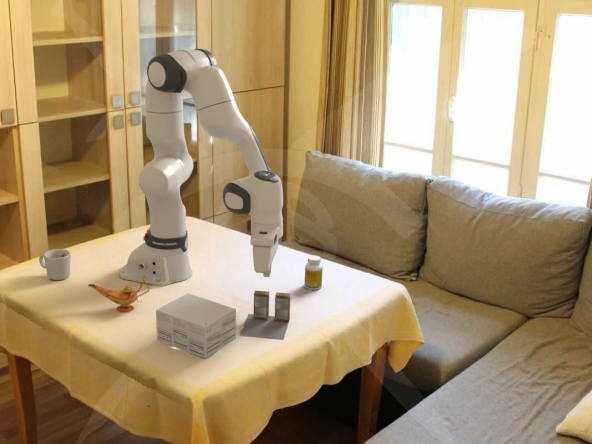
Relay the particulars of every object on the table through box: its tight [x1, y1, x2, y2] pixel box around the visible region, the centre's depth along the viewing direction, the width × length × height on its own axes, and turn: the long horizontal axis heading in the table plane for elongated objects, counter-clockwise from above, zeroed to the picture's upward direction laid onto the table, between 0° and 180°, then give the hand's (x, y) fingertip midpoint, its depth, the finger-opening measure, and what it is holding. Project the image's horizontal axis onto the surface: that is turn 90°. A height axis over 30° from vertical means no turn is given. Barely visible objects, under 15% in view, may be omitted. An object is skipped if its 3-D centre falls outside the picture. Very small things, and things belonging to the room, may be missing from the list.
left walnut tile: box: [253, 290, 270, 321], centre depth 211 cm, size 4×2×8 cm, turn 83°
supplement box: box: [155, 293, 237, 360], centre depth 199 cm, size 17×13×9 cm
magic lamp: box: [87, 275, 151, 314], centre depth 214 cm, size 7×18×11 cm, turn 85°
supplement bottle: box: [304, 255, 324, 291], centre depth 233 cm, size 5×5×10 cm
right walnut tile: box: [274, 292, 292, 323], centre depth 210 cm, size 4×2×8 cm, turn 83°
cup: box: [39, 248, 72, 281], centre depth 233 cm, size 11×8×8 cm
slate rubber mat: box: [239, 313, 290, 341], centre depth 208 cm, size 12×13×1 cm
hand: (267, 275), depth 214 cm, fingers closed
